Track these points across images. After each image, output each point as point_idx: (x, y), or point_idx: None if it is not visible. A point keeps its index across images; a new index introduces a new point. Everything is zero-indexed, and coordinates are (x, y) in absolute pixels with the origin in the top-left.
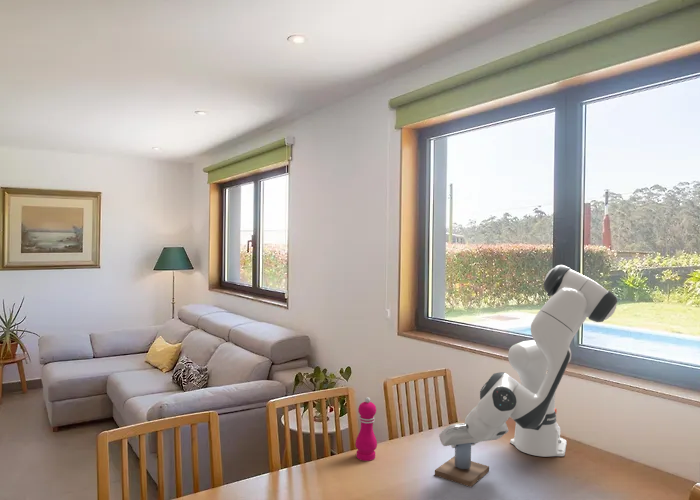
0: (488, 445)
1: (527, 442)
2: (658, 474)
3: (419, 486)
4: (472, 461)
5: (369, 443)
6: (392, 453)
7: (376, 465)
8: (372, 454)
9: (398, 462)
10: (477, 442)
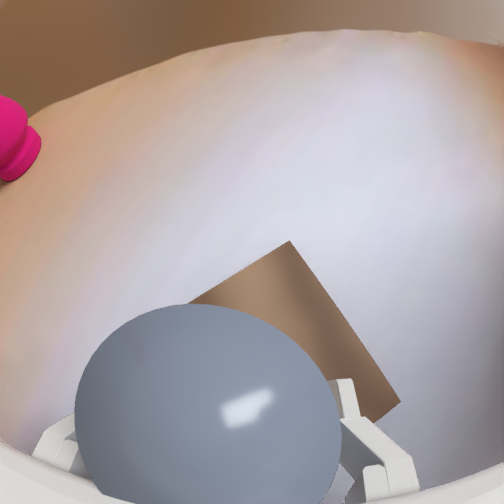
0: (484, 165)
1: None
2: None
3: (26, 408)
4: (350, 328)
5: None
6: (92, 138)
7: (5, 214)
8: (9, 167)
9: (61, 206)
10: (352, 469)
